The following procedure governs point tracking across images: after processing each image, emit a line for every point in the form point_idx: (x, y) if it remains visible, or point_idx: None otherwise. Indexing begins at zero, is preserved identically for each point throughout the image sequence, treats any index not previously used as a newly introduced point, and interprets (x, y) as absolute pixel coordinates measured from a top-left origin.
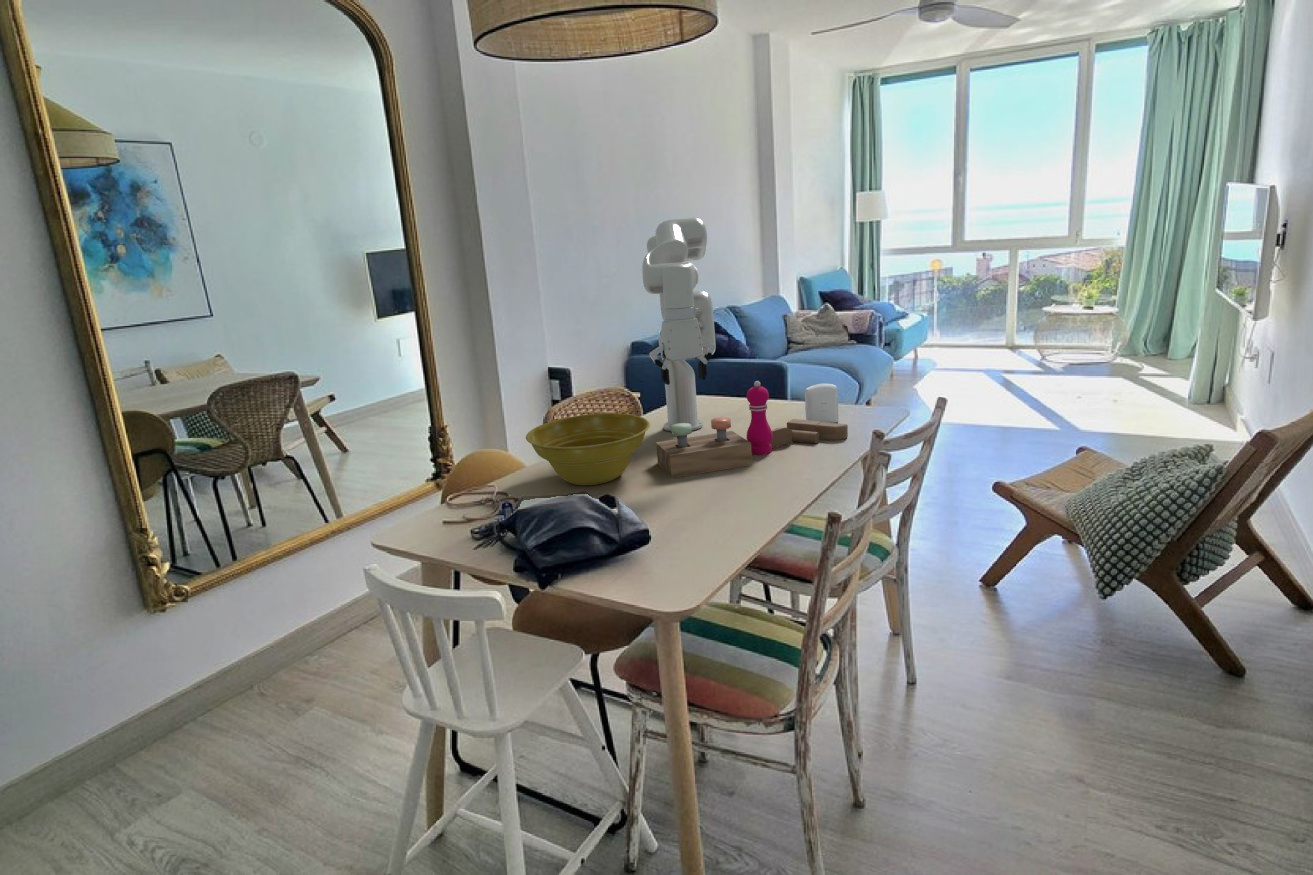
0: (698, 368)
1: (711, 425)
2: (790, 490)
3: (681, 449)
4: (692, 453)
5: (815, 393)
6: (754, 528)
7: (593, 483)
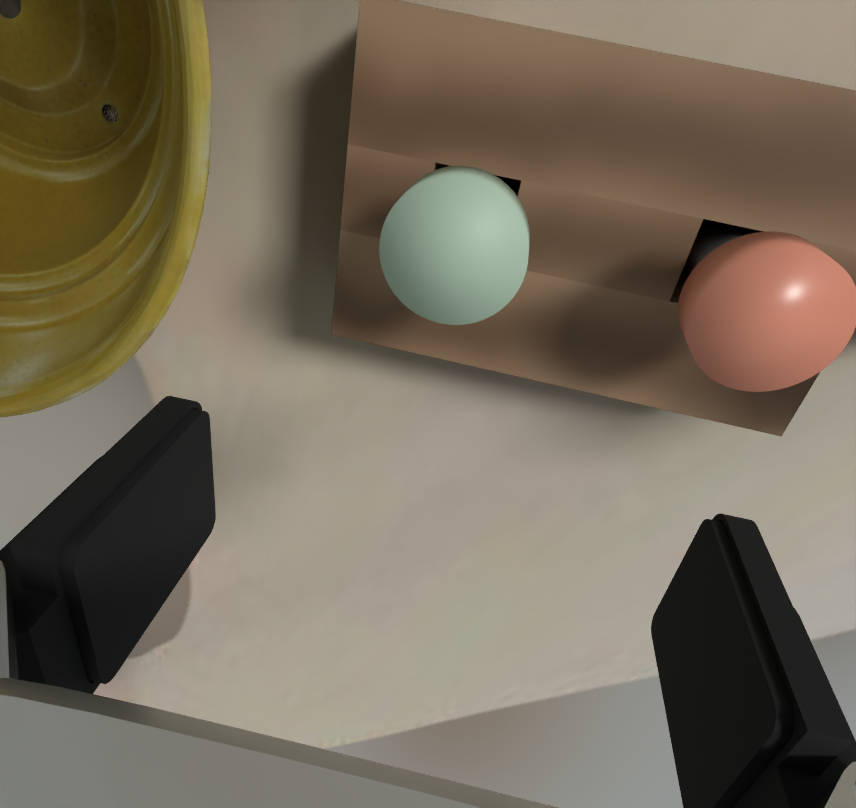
0: (746, 643)
1: (691, 286)
2: (621, 629)
3: None
4: (450, 357)
5: None
6: (383, 704)
7: (19, 150)
